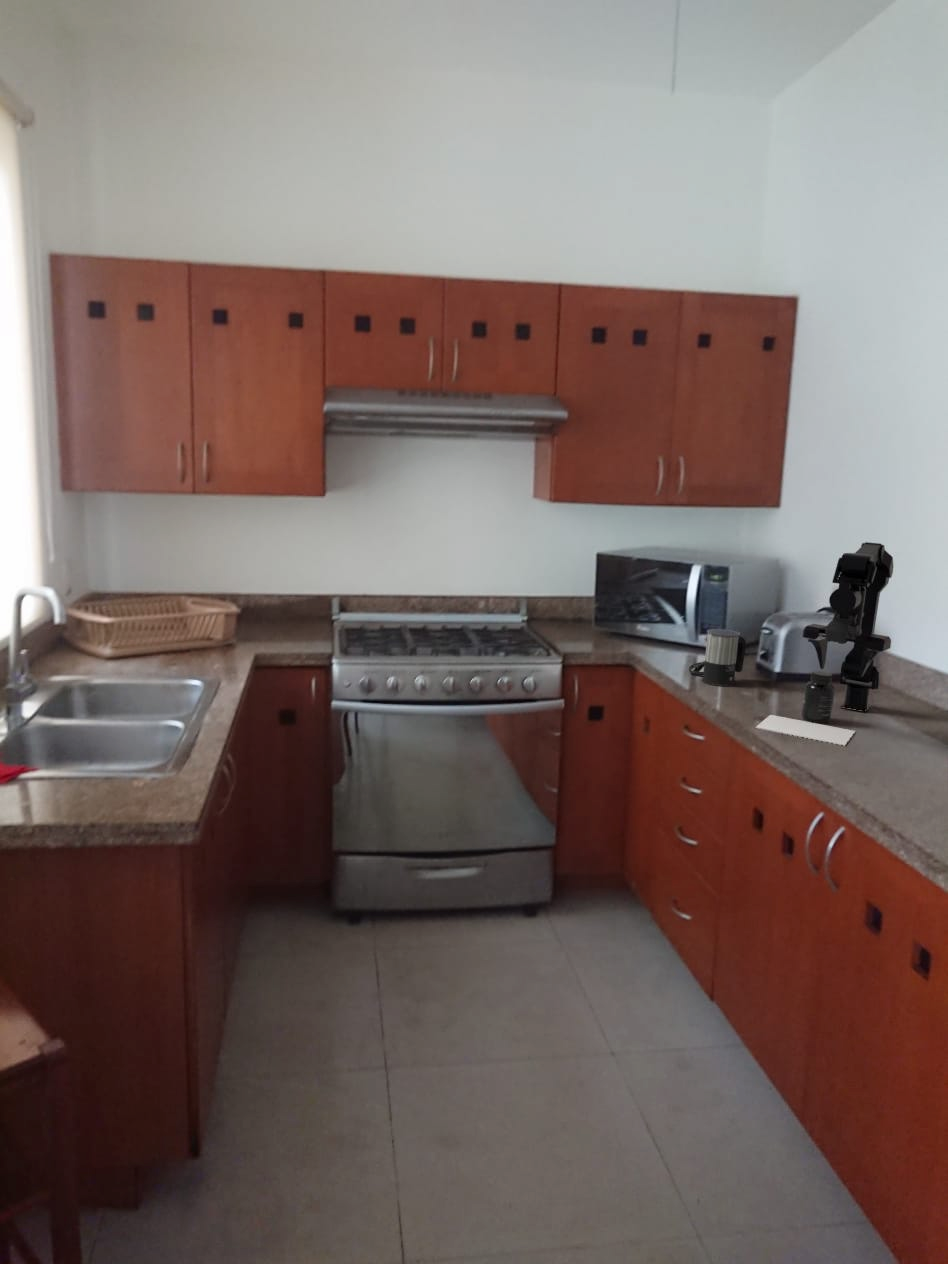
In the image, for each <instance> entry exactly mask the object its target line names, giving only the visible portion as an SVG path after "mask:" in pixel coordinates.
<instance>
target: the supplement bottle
mask: <svg viewBox="0 0 948 1264" xmlns="http://www.w3.org/2000/svg"><path fill="white" fill-rule="evenodd" d="M810 680H811V681H808V682H807V683H806V685H805V687H804V694H803V695H804V696H803V700H802V701H803V702H802V708H801V718H802V720H803V721H806V722H811V723H812V722H813V723H816V724H820V723H824V724H829V723H830V721H831V719H832V718H831V717H832V713H833V712H832V711H833V706H834V698H835V697H834V696H835V687H834V686H833V685H832V684H831V683H832V682H833V674H832V673H830V672H826V671H822V670H814V671H811V675H810Z"/></svg>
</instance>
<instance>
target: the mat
mask: <svg viewBox="0 0 948 1264" xmlns="http://www.w3.org/2000/svg"><path fill="white" fill-rule="evenodd" d="M755 729H758V730H762V731H768V732H772V733H776V734H782V733H783V735H787V734H788V735H787V736H792V735H793V736H792V737H797V736H798V737H797V738H801V737H804V738H803V739H806V738H808V740H811V739H813V740H812V741H816V740H818V741H817V742H821V741H823V742H822V743H826V742H828V744H831V743H833V745H836V744H838V746H841V745H843V746H842V747H846V745H847V744H848V743H849V741H850V740H851V739H852V738H853V736H854V735H855V733H856V730H851V729H846V728H841V727H837V726H836V727H835V726H830V725H826V724H820V723H812V722H809V721H806V720H799V719H795V718H790V717H784V716H779V715H774V714H770V715H768V716H767V717H766V718H765V719H763V720H762V721H761V722H760V723H758V725H756V726H755ZM853 734H854V735H853ZM850 738H851V739H850ZM847 742H848V743H847Z"/></svg>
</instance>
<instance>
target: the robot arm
mask: <svg viewBox="0 0 948 1264" xmlns="http://www.w3.org/2000/svg"><path fill="white" fill-rule="evenodd" d="M885 548H886V547H885V545H884V544H882V543H879V542H878V543H876V542H868V541H865V542H862V543H861V546H860V547H859V549H858V550H856V551H855V552H845V553H843V554H842V555H841V557H839V558H838V560H837V564H836V567H835V571H834V575H833V578H832V584H838V588H837V589H835V590H834V591H832V593H831V594H830V596H829V599H828V601H829V602H828V603H829V606H830V608H831V609H832V610H833V611H834V614H833V619H832V620H831V621H829V623H828V624H827V625H824V624H817V623H812V624H808V625H806V626H805V627H804V629H803V630H802V631H803V632H802V638H804V639H805V638H806V639H807V642H809V643H812V645H813V646H814V648H815V652H816V655H817V660H818V664H819V668H820V670H824V669H825V665H826V659H827V650H828V643H829V642H834V643H838V644H841V645H842V644H843V645H845V644H847V642H851V643H853V647H852V649H851V650H849V652H848V653H847V655H845V658H844V660H843V661H842V664H841V667H840V676H839V677H840V678H839V679H840V680H839V685H846V687H845V694H844V700H843V703H842V704H840V706H841V707H845V708H851V709H856V710H862V711H865V710H866V711H867V710H868V709H869V710H870V708H871V705H868V704H869V697H870V690H873V691H874V690H879V688H880V687H879V686H880V672H879V668H878V666H877V658H876V656H877V655H878V654H880V653H882V652H885V651H888V650H890V649H891V646H892V639H891V638H890V636H888V635H881V634H876V633H875V630H876V629H875V628H876V624H877V623H876V622H877V616H878V609H879V608H878V607H879V602H880V597H881V596H880V595H881V593H882V591H883V590H884V589H885V588H886V587H887V586H888V585H889V582H890V579H892V576H893V573H894V558H893V556H892V555H891V554H890V553H889V552H888V551H887V550H886V549H885ZM867 705H868V706H867ZM869 707H870V708H869ZM869 710H868V711H869ZM868 711H867V712H868Z"/></svg>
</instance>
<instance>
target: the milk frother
mask: <svg viewBox="0 0 948 1264" xmlns="http://www.w3.org/2000/svg"><path fill="white" fill-rule="evenodd" d="M706 632H707V638H706V647H705V657H704V658H705V660H704V661H700V662H696V663H694V664H691V665H690V666H689V668H688V671H689V673H691V674H692V675H694V676H700V677H701V676H702V678H701V682H703V683H705V684H708V685H712V686H719V687H732V686H734V685H735V684H736V683H735V677H736V676H735V675H736V673H741V672H742V671H743V667H744V661H745V655H746V648H747V641H746V639H745V638H744V636H741V633H740V632H739V631H735V630H731V629H725V628H724V629H723V628H710V629H707V630H706ZM702 669H703V671H701V670H702Z"/></svg>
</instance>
